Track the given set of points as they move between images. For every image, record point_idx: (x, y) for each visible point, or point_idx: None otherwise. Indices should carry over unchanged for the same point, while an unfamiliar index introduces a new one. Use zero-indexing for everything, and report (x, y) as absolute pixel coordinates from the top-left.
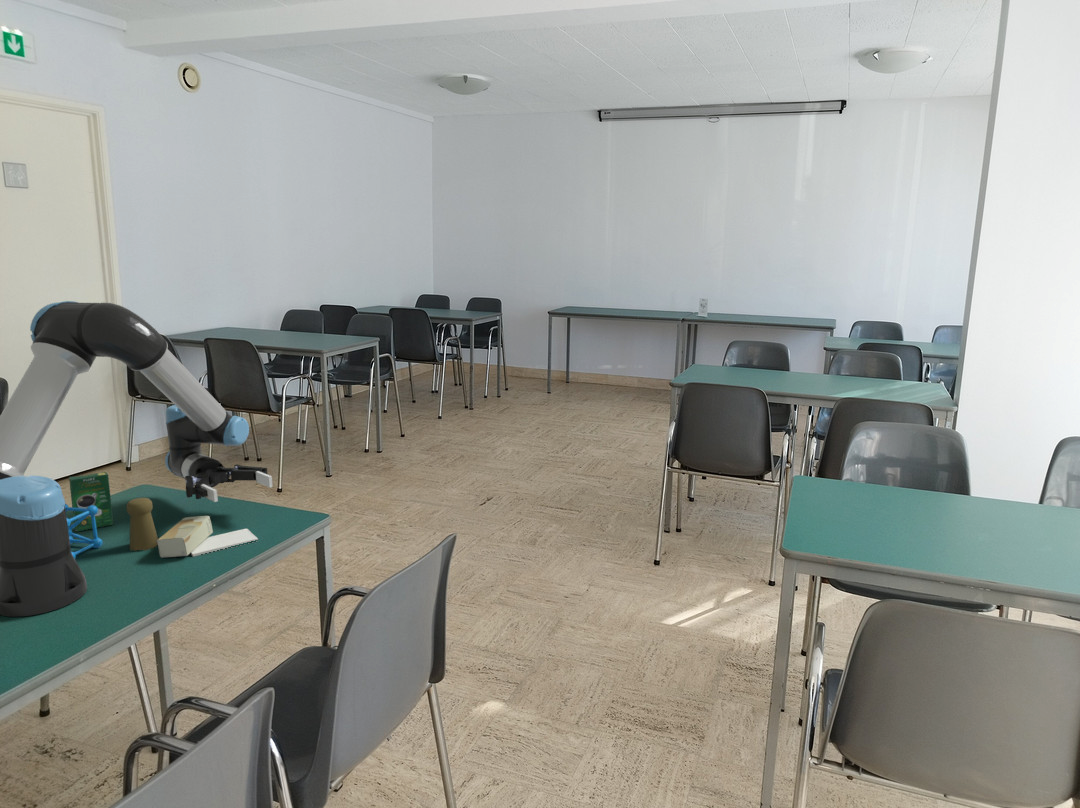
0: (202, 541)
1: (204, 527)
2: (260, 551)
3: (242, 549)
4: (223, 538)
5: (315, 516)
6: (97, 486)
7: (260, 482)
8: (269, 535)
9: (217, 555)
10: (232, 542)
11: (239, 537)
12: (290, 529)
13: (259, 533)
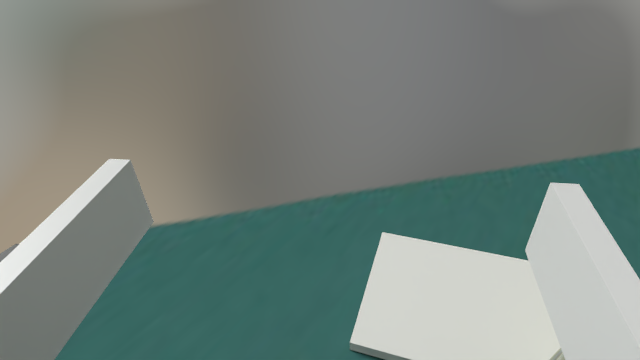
0: None
1: None
2: (417, 187)
3: (453, 226)
4: (485, 324)
5: None
6: None
7: (70, 322)
8: (325, 248)
9: None
10: (468, 264)
11: (426, 283)
12: (247, 239)
13: (335, 287)
